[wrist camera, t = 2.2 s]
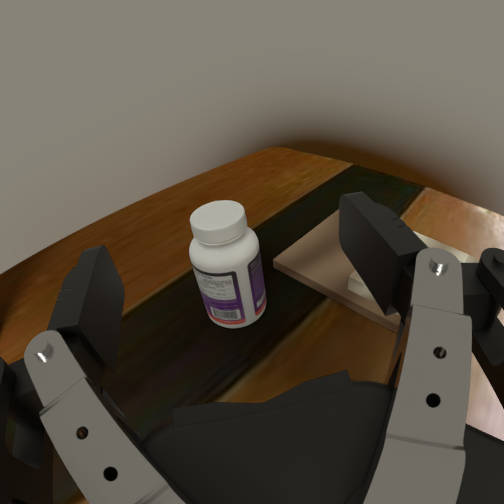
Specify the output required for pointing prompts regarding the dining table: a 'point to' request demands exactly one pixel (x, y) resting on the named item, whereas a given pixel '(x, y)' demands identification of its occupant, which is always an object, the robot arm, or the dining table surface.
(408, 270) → the robot arm
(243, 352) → the dining table surface
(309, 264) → the socket board
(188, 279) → the dining table surface
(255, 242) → the pill bottle
